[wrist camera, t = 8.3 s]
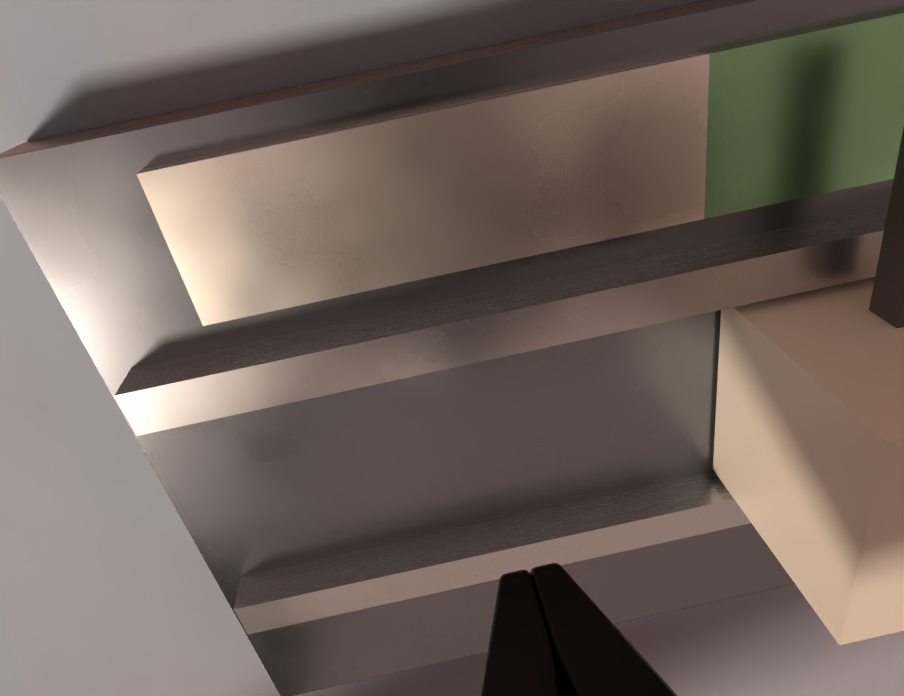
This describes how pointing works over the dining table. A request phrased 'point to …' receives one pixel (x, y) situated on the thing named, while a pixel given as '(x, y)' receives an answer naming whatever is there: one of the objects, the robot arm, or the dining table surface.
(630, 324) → the bench gauge
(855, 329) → the cube with stick handle
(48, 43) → the dining table surface
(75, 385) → the dining table surface
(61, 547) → the dining table surface
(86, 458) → the dining table surface
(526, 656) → the robot arm
